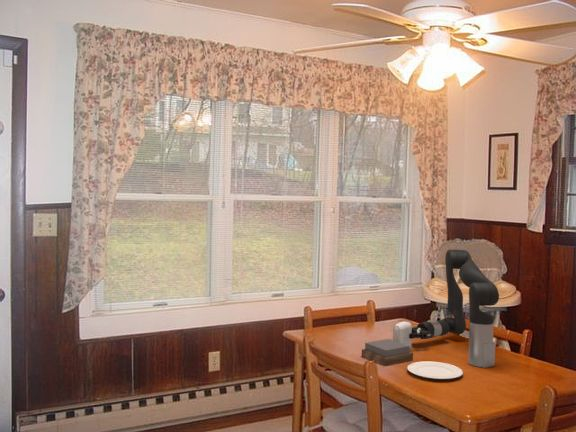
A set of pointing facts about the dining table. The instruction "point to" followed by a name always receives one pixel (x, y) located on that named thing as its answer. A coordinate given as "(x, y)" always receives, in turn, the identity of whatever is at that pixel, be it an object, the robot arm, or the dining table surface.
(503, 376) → the dining table surface
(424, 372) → the plate
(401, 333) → the photo printer
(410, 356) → the base brick
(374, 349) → the top brick
